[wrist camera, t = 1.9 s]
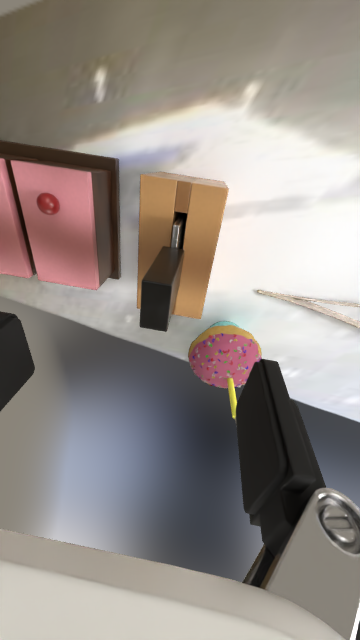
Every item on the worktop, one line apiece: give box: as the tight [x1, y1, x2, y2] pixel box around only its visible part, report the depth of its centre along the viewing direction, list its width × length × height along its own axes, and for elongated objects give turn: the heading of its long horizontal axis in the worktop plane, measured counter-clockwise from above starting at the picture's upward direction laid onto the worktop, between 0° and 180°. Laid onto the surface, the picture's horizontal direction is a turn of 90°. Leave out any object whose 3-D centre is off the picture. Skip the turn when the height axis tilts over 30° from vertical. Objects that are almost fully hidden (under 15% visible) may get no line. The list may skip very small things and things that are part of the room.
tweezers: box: [257, 290, 360, 328], centre depth 27 cm, size 17×5×2 cm, turn 81°
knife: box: [140, 213, 187, 332], centre depth 18 cm, size 6×2×14 cm, turn 173°
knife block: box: [137, 172, 229, 319], centre depth 22 cm, size 11×6×7 cm, turn 173°
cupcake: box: [188, 321, 261, 425], centre depth 27 cm, size 9×8×12 cm
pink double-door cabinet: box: [0, 140, 121, 290], centre depth 22 cm, size 12×14×7 cm
